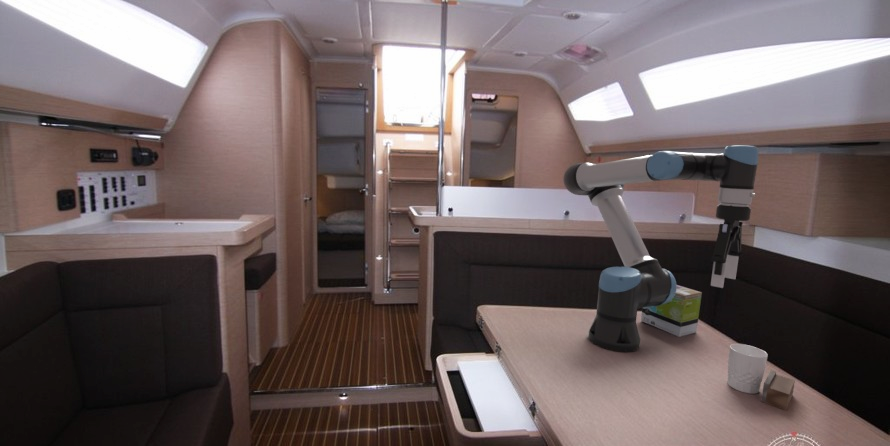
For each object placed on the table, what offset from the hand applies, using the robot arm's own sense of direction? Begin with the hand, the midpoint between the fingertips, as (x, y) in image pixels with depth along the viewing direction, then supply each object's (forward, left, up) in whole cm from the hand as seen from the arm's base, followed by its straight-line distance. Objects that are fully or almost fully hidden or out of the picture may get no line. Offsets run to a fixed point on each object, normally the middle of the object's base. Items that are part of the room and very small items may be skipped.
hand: (723, 282), depth 115 cm
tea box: (-19, +23, -25) cm, 39 cm away
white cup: (+8, -6, -25) cm, 27 cm away
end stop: (+15, -6, -25) cm, 30 cm away
